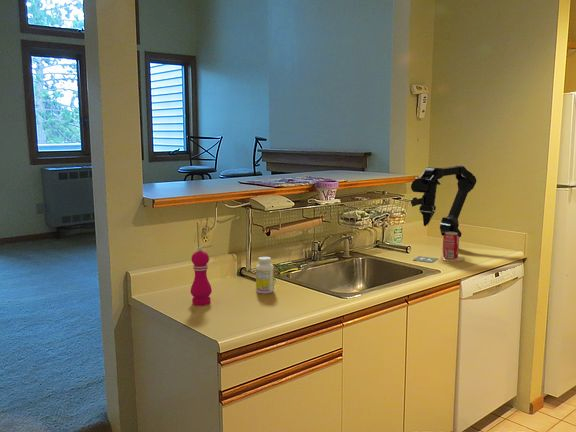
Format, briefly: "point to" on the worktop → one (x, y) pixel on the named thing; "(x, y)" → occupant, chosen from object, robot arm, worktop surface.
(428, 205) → the robot arm
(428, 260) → the coaster
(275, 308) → the worktop surface
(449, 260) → the disc
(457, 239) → the soda can
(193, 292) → the pepper mill
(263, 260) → the supplement bottle
